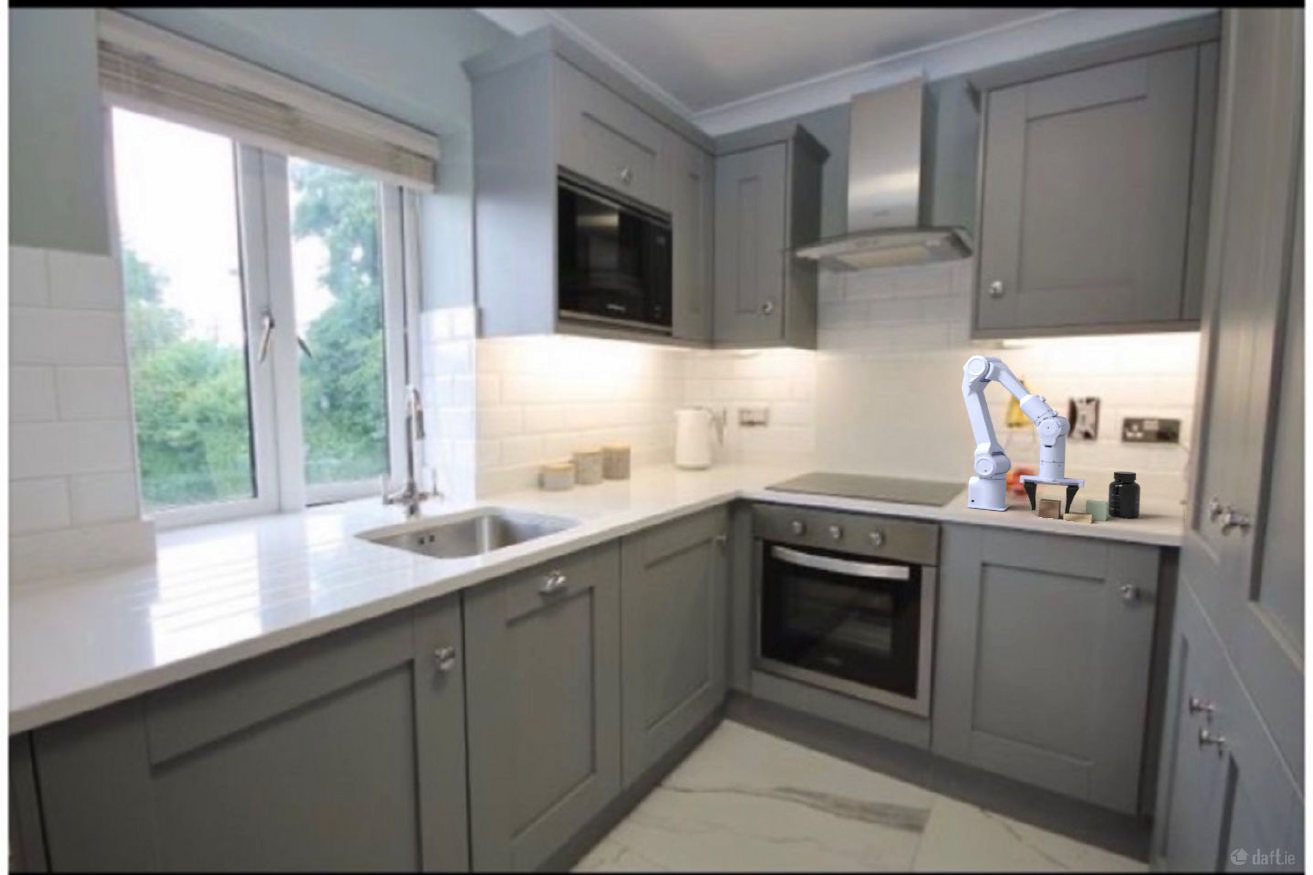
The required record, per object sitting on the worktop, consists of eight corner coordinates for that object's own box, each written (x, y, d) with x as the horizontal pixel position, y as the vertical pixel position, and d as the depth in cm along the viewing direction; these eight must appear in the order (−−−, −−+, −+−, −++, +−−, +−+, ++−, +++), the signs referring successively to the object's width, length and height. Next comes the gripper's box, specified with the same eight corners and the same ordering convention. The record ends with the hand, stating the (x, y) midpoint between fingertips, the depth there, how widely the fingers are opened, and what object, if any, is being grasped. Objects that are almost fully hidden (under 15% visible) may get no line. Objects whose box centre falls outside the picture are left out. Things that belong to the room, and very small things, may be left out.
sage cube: (1085, 518, 167) (1086, 502, 167) (1086, 516, 171) (1087, 499, 170) (1105, 521, 164) (1106, 504, 164) (1107, 518, 168) (1108, 501, 167)
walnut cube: (1038, 517, 169) (1039, 501, 169) (1041, 514, 173) (1041, 498, 172) (1058, 519, 166) (1058, 503, 166) (1060, 516, 170) (1061, 500, 169)
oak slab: (1063, 523, 165) (1063, 514, 165) (1065, 520, 170) (1065, 511, 170) (1090, 526, 161) (1091, 517, 161) (1092, 522, 166) (1092, 513, 166)
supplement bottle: (1125, 513, 173) (1127, 470, 172) (1145, 518, 166) (1148, 474, 165) (1101, 514, 173) (1103, 470, 172) (1120, 519, 166) (1123, 474, 165)
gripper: (1018, 461, 170) (1016, 510, 171) (1083, 464, 161) (1080, 517, 162) (1023, 458, 175) (1021, 506, 176) (1086, 462, 166) (1083, 512, 167)
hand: (1050, 511), depth 169 cm, fingers open, 7 cm apart
